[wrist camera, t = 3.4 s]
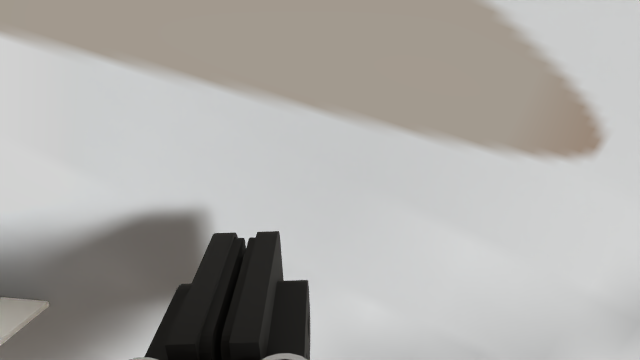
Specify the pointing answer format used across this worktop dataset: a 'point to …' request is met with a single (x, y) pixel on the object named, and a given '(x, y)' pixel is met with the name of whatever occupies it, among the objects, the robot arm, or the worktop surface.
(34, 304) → the toilet paper
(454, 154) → the worktop surface
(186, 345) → the robot arm
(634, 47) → the worktop surface
